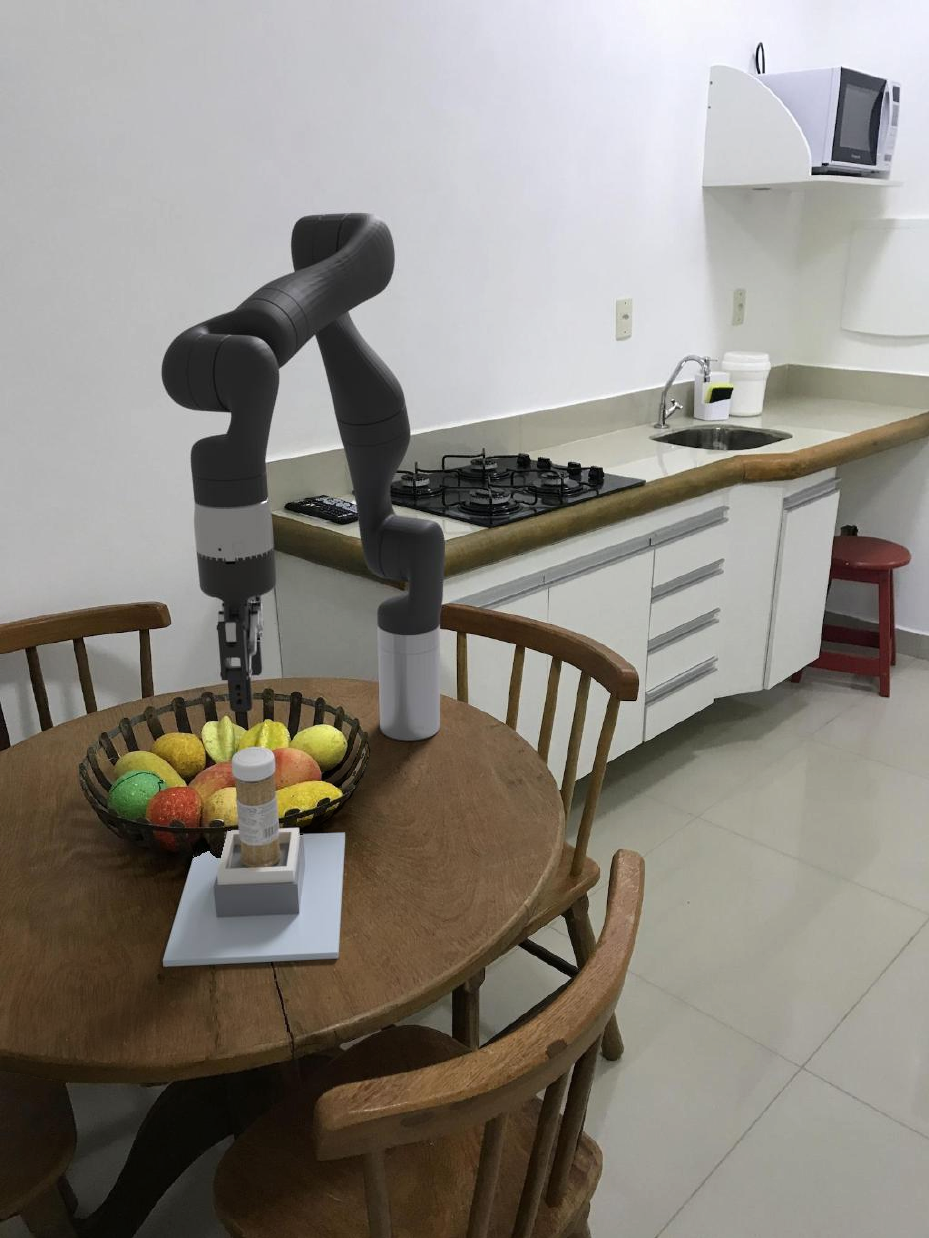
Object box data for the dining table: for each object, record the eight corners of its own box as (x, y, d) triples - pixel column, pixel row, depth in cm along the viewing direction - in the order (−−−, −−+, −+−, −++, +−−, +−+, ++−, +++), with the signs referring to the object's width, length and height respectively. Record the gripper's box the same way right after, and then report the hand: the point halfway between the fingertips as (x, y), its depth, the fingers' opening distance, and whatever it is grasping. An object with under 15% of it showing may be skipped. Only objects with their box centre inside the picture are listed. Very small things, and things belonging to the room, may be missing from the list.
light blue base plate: (199, 843, 122) (195, 799, 119) (345, 837, 123) (343, 794, 121) (163, 966, 101) (157, 916, 99) (338, 958, 103) (336, 909, 100)
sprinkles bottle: (269, 843, 114) (261, 740, 109) (289, 861, 110) (282, 757, 105) (233, 857, 111) (223, 753, 106) (252, 877, 108) (244, 770, 103)
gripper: (208, 524, 103) (221, 664, 109) (183, 567, 90) (199, 724, 96) (280, 523, 104) (289, 662, 110) (265, 565, 90) (276, 722, 96)
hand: (247, 691), depth 103 cm, fingers open, 8 cm apart
